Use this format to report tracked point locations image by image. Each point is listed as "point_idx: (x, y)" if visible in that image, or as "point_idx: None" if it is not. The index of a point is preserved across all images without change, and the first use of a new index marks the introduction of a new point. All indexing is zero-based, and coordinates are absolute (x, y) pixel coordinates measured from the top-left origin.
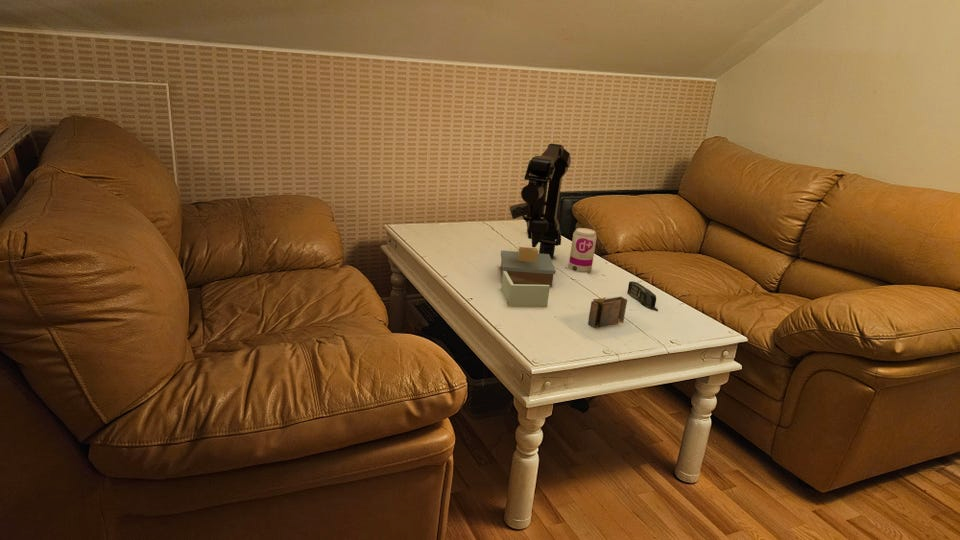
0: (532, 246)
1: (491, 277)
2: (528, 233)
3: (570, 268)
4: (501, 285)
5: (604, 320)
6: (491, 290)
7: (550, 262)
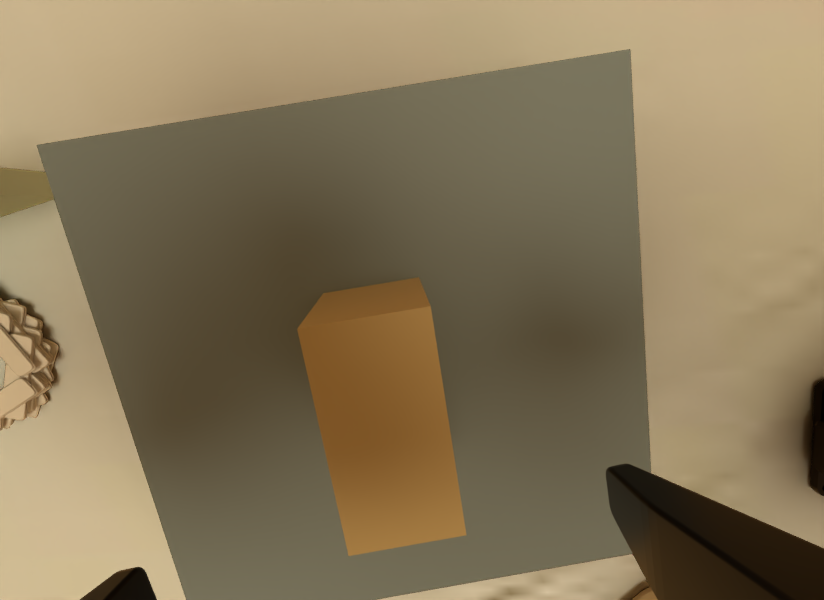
0: (106, 584)
1: (315, 62)
2: (665, 526)
3: (651, 598)
4: (8, 169)
5: None
6: (29, 97)
7: (411, 576)
